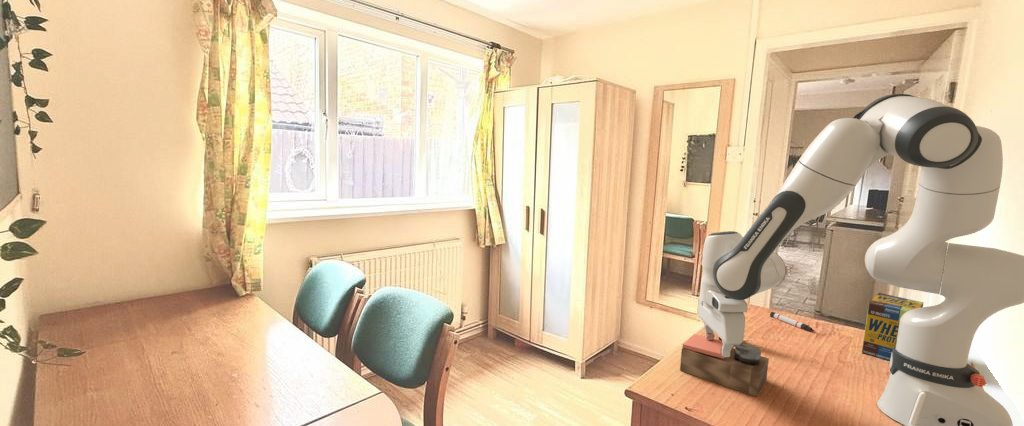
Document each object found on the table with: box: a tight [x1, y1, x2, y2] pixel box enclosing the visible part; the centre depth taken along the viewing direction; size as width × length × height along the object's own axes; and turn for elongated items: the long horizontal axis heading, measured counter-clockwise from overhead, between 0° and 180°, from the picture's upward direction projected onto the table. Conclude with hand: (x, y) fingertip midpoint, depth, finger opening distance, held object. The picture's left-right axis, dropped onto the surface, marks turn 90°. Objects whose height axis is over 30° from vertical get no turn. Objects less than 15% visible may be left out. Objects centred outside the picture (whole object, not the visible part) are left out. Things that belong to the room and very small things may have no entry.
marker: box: [769, 311, 815, 332], centre depth 147 cm, size 15×2×2 cm, turn 20°
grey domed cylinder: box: [734, 342, 762, 366], centre depth 107 cm, size 6×6×8 cm
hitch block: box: [679, 347, 770, 397], centre depth 110 cm, size 18×10×6 cm, turn 49°
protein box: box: [861, 292, 924, 362], centre depth 126 cm, size 10×15×16 cm
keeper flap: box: [682, 333, 735, 359], centre depth 112 cm, size 10×9×1 cm
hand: (717, 347), depth 110 cm, fingers open, 8 cm apart
